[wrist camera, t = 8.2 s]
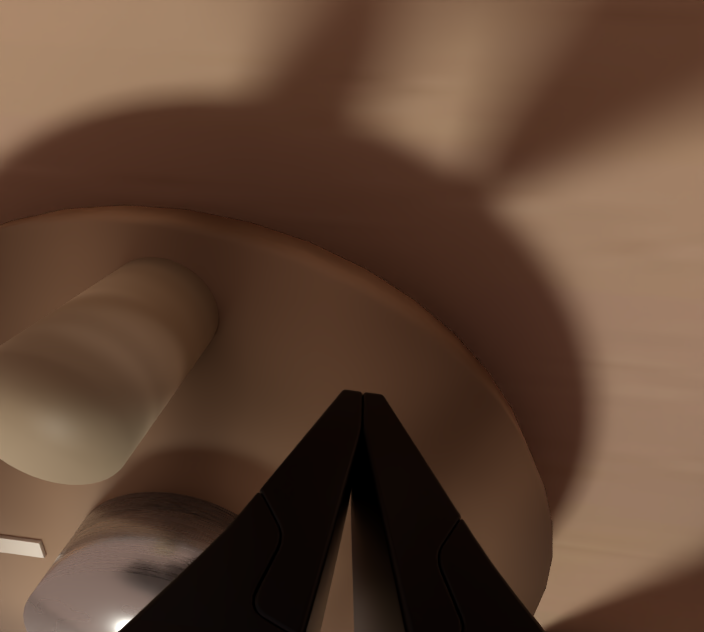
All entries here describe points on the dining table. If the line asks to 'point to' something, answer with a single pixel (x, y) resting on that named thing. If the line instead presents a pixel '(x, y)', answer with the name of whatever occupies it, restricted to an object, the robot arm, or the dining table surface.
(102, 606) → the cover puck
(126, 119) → the dining table surface
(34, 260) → the turntable
